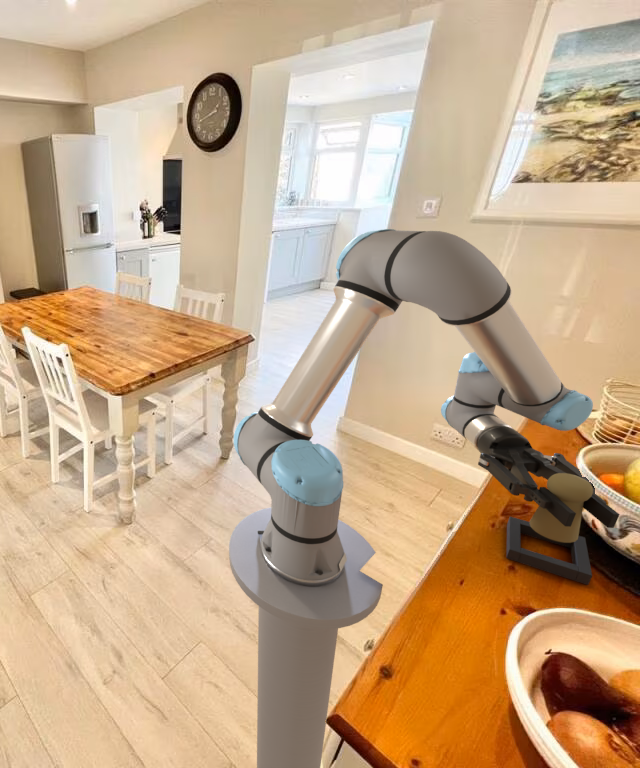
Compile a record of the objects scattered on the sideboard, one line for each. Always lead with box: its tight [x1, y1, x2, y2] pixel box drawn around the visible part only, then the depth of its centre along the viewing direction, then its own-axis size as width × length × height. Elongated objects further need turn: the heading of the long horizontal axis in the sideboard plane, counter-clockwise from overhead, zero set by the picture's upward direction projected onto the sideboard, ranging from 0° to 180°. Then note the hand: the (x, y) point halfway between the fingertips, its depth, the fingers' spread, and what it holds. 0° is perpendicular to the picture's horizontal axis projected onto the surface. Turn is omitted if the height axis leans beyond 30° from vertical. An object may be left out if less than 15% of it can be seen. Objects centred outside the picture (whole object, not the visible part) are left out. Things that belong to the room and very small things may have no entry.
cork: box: [529, 473, 593, 543], centre depth 68 cm, size 6×6×11 cm
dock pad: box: [506, 516, 593, 586], centre depth 72 cm, size 10×10×2 cm
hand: (591, 520), depth 63 cm, fingers closed on cork, 5 cm apart
